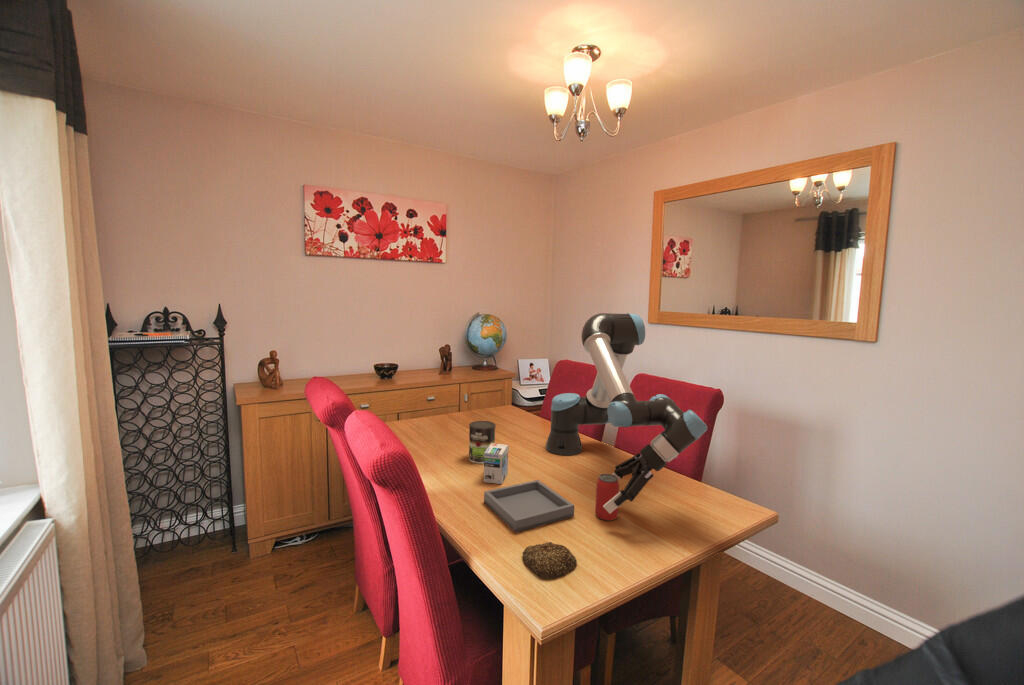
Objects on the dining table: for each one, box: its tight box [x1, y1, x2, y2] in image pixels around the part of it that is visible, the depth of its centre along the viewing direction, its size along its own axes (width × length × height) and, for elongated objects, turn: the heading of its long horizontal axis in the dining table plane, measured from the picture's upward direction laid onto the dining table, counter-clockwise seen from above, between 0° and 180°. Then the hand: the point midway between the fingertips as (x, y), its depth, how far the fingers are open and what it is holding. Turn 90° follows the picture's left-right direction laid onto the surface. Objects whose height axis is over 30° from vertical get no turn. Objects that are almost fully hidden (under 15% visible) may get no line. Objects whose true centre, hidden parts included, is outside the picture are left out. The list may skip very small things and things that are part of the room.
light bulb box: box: [483, 442, 509, 485], centre depth 158 cm, size 11×7×11 cm, turn 168°
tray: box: [483, 479, 575, 534], centre depth 136 cm, size 20×20×4 cm
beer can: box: [594, 473, 620, 521], centre depth 133 cm, size 7×7×12 cm
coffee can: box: [468, 420, 496, 465], centre depth 175 cm, size 10×10×14 cm
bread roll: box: [522, 541, 578, 580], centre depth 110 cm, size 13×12×5 cm
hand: (603, 498), depth 133 cm, fingers open, 13 cm apart
